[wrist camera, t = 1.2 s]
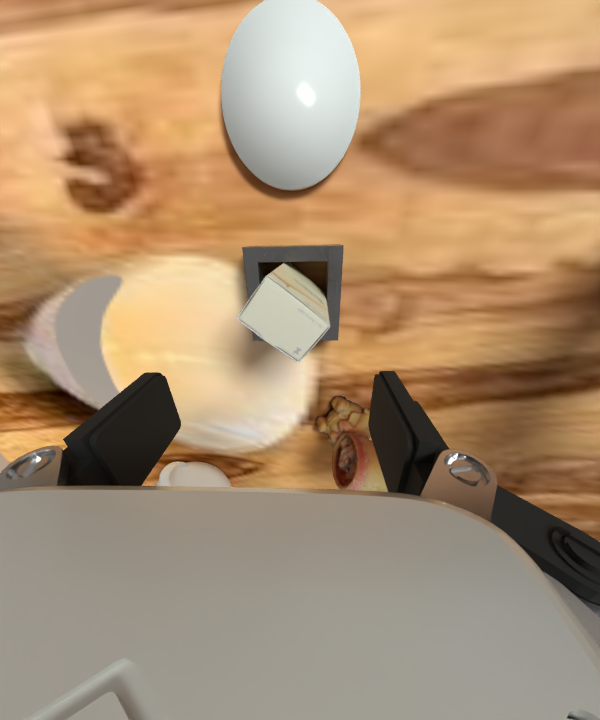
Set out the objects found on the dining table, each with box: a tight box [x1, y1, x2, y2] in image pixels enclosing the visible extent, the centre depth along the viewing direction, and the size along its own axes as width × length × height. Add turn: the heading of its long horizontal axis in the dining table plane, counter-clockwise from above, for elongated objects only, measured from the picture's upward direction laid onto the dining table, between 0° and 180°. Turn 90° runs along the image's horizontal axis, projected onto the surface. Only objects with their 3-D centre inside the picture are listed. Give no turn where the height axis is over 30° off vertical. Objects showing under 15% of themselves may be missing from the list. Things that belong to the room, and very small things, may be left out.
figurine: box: [316, 396, 388, 492], centre depth 32 cm, size 10×8×15 cm
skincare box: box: [237, 262, 330, 363], centre depth 23 cm, size 6×4×12 cm
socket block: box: [242, 245, 344, 340], centre depth 27 cm, size 10×10×4 cm
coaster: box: [221, 0, 361, 191], centre depth 21 cm, size 12×12×1 cm
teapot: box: [156, 461, 232, 487], centre depth 41 cm, size 22×14×11 cm, turn 7°
